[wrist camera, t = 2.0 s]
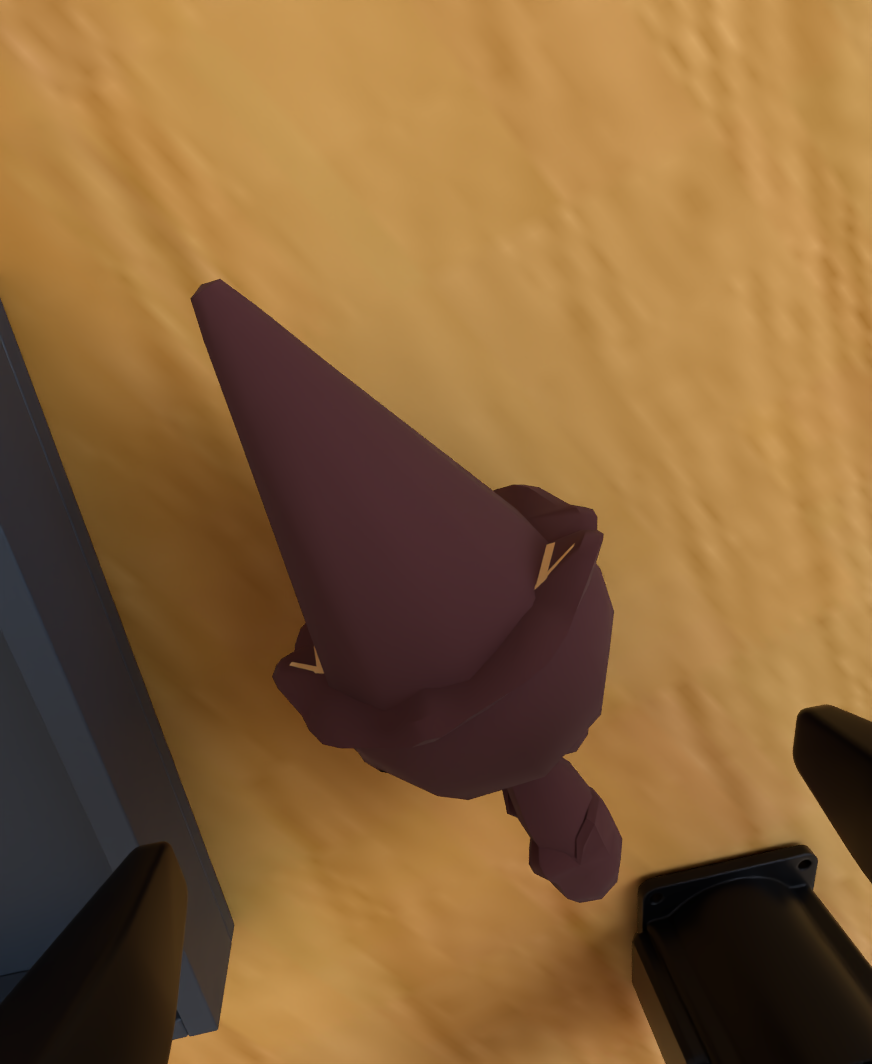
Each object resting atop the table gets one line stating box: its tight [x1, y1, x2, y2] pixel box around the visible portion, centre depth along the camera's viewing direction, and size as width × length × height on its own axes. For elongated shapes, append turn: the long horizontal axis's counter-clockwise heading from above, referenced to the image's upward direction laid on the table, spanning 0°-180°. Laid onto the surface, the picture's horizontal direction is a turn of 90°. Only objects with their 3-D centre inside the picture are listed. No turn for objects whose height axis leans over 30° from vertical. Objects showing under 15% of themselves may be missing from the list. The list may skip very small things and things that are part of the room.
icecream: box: [191, 279, 622, 903], centre depth 13 cm, size 7×7×15 cm
